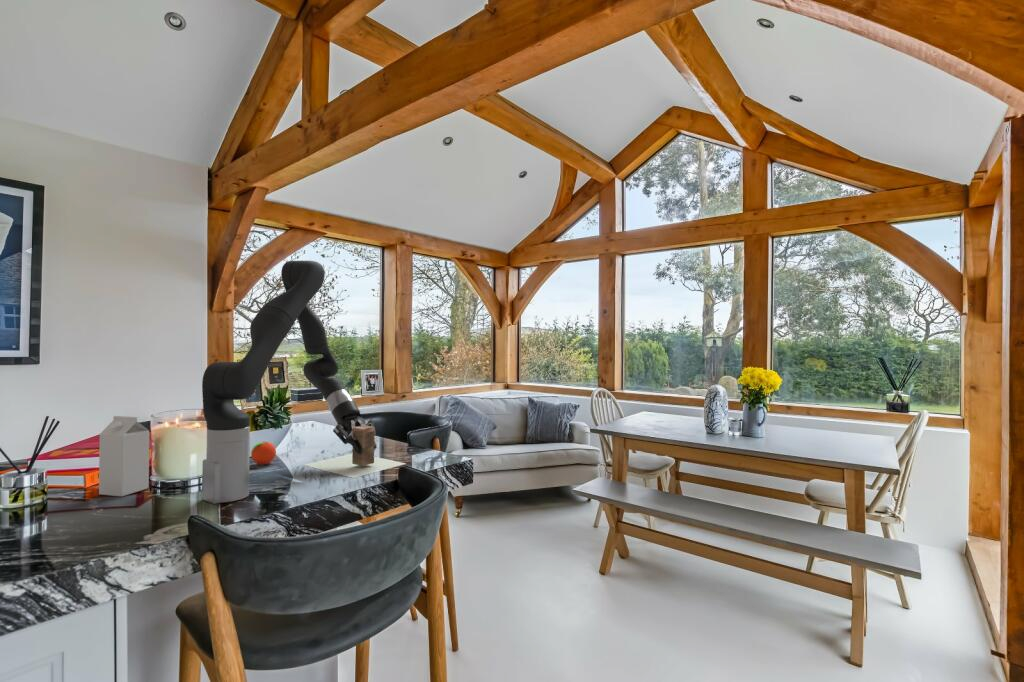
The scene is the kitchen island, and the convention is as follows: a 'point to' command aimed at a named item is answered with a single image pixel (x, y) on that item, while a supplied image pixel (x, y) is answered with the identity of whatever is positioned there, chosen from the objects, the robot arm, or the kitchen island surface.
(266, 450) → the clementine
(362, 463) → the walnut block
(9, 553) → the kitchen island surface
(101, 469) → the milk carton
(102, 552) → the kitchen island surface
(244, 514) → the kitchen island surface
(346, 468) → the cream flat board
